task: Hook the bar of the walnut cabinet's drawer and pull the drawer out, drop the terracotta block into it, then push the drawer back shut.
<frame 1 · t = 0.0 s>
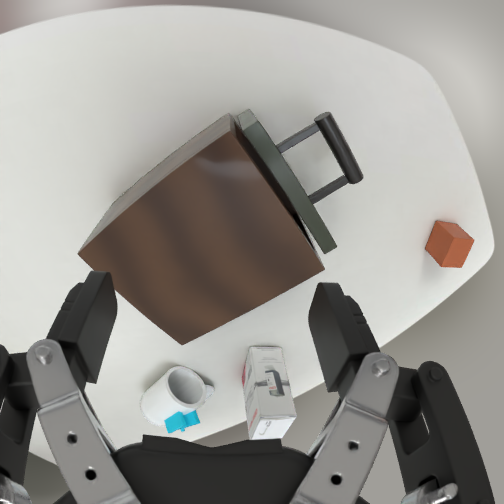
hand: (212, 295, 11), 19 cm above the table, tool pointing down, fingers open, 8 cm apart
cabinet: (205, 207, 30), on the table
block: (441, 236, 34), on the table
ink box: (261, 361, 44), on the table
drawer: (247, 200, 24), point 5 cm above the table, slide at 0.5 cm
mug: (179, 385, 47), on the table
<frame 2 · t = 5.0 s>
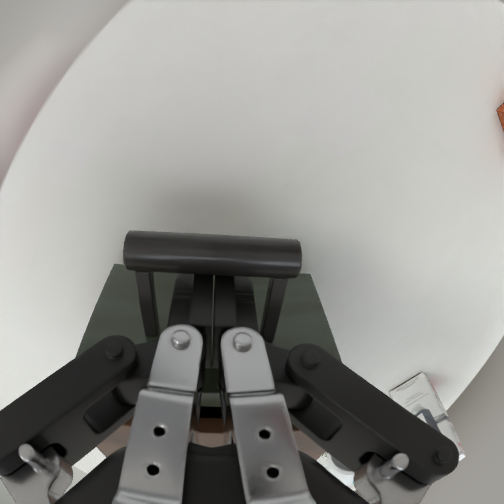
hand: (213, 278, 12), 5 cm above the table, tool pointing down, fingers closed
cabinet: (208, 357, 22), on the table
ink box: (413, 388, 31), on the table
drawer: (208, 372, 16), point 5 cm above the table, slide at 0.8 cm, touching gripper
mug: (355, 439, 39), on the table
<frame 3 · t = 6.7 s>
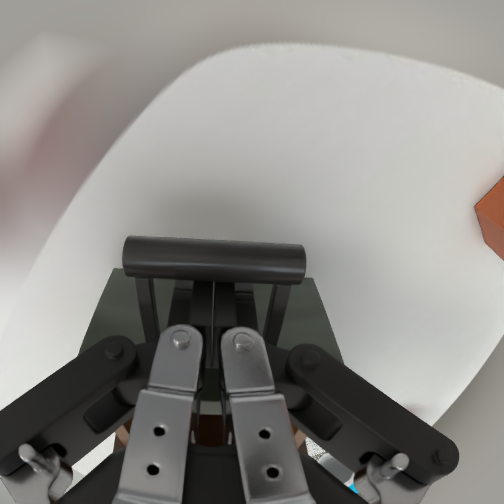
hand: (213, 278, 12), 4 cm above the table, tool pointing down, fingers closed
block: (496, 208, 17), on the table
drawer: (210, 377, 15), point 5 cm above the table, slide at 8.0 cm, touching gripper
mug: (341, 455, 42), on the table
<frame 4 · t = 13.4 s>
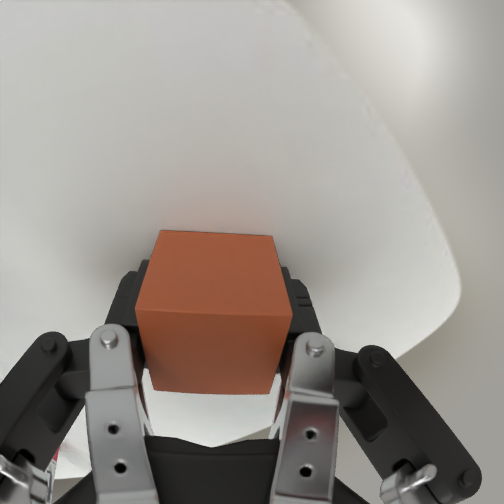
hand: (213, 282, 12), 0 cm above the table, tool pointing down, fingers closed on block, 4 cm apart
block: (213, 277, 12), on the table, touching gripper
ink box: (33, 426, 23), on the table
when the fingers open (8 cm above the table, at t = 20.1 s): block drops 6 cm, resting on drawer.
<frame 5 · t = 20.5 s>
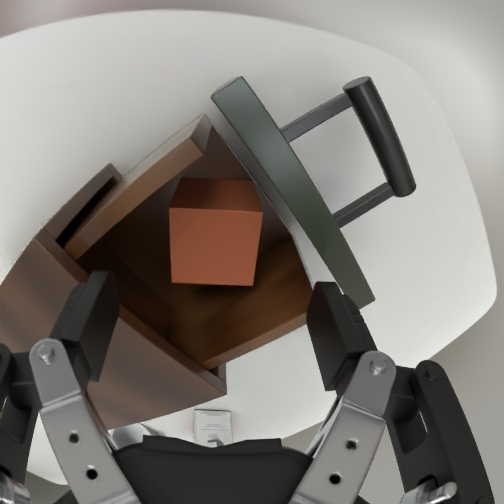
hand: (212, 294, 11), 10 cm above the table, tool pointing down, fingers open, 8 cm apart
cabinet: (106, 278, 22), on the table
block: (215, 212, 18), point 2 cm above the table, touching drawer
ink box: (211, 421, 37), on the table
drawer: (230, 222, 15), point 5 cm above the table, slide at 8.1 cm, touching block
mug: (133, 434, 39), on the table
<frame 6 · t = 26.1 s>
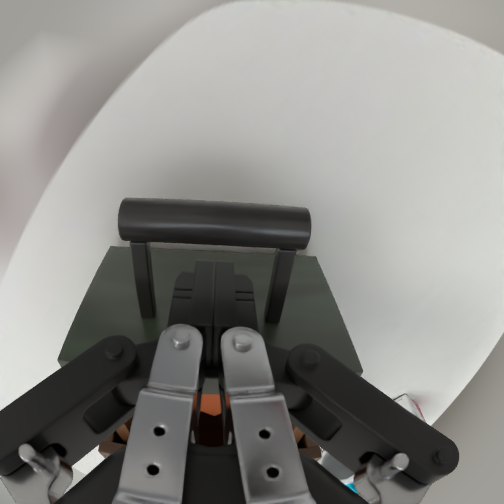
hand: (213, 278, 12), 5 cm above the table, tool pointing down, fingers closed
cabinet: (208, 388, 25), on the table
block: (210, 334, 18), point 2 cm above the table, touching drawer
drawer: (209, 360, 15), point 5 cm above the table, slide at 6.7 cm, touching block, gripper
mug: (345, 449, 41), on the table
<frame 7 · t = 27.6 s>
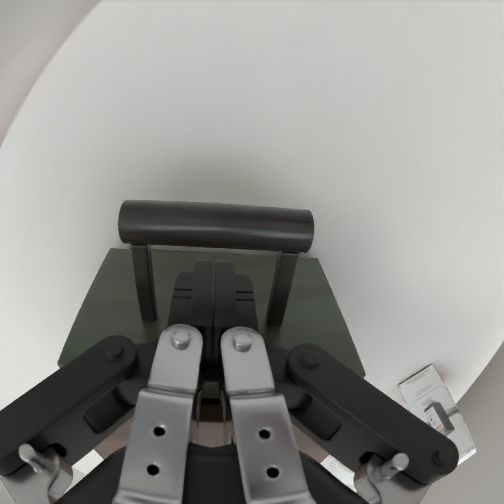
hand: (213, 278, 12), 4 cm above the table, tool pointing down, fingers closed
cabinet: (210, 346, 21), on the table
ink box: (422, 382, 29), on the table
drawer: (210, 363, 15), point 5 cm above the table, slide at 0.2 cm, touching block
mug: (361, 436, 37), on the table
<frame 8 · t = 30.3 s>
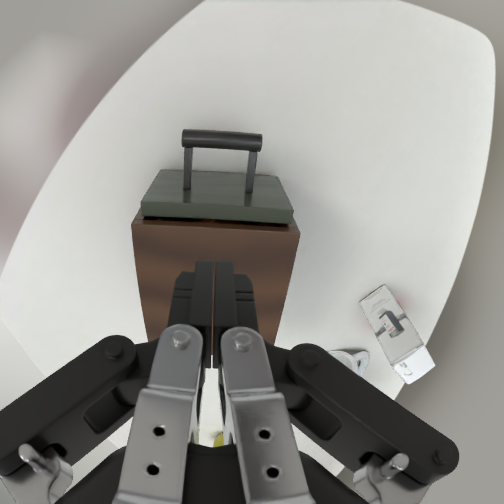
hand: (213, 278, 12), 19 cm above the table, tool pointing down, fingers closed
cabinet: (214, 244, 33), on the table
ink box: (382, 305, 42), on the table
apple: (229, 434, 63), on the table
drawer: (215, 230, 27), point 5 cm above the table, slide at 0.2 cm, touching block
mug: (339, 367, 49), on the table
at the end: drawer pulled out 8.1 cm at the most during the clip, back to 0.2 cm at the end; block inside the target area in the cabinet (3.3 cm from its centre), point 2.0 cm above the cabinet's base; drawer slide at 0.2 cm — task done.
